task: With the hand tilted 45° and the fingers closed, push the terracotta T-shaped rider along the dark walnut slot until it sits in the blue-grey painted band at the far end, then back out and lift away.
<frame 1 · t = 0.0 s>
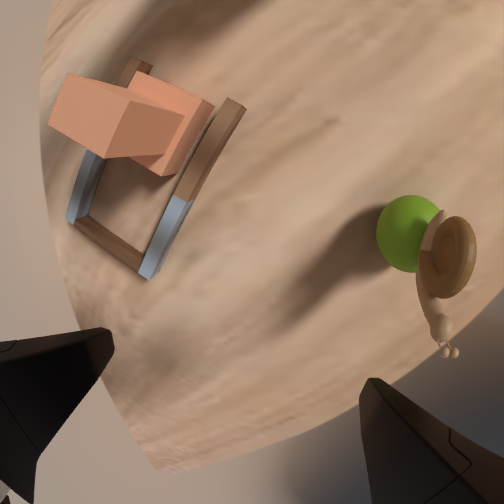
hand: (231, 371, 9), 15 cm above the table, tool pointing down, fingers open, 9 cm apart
rider: (132, 118, 16), point 5 cm above the table, slide at 0.0 cm
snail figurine: (397, 229, 21), on the table
beam slot: (144, 167, 22), on the table
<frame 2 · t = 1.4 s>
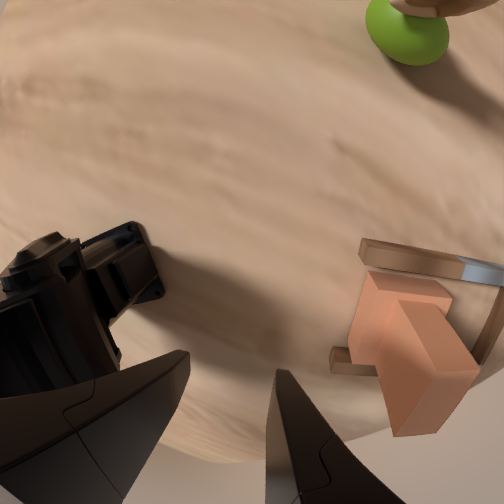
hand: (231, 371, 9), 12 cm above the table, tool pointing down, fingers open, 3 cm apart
rider: (412, 350, 15), point 5 cm above the table, slide at 0.0 cm
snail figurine: (400, 41, 14), on the table
beam slot: (433, 314, 20), on the table
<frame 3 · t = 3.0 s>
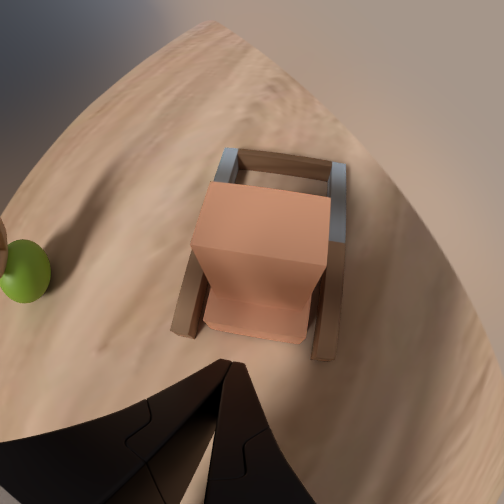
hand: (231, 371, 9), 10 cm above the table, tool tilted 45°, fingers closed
rider: (263, 268, 15), point 5 cm above the table, slide at 0.0 cm
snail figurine: (42, 278, 21), on the table
beam slot: (271, 244, 22), on the table
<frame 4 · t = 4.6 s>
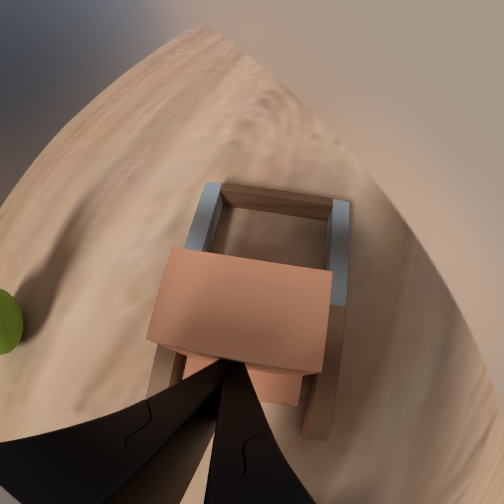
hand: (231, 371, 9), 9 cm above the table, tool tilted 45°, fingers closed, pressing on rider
rider: (247, 335, 12), point 5 cm above the table, slide at 1.1 cm, touching gripper
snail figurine: (17, 324, 18), on the table
beam slot: (259, 302, 18), on the table
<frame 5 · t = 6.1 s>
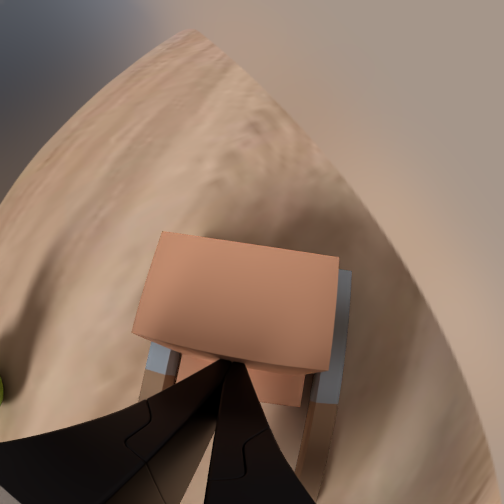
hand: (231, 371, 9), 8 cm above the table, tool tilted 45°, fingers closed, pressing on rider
rider: (246, 330, 12), point 5 cm above the table, slide at 6.8 cm, touching gripper
beam slot: (241, 390, 15), on the table
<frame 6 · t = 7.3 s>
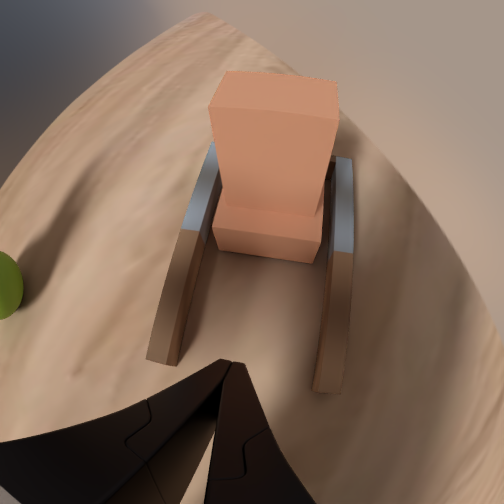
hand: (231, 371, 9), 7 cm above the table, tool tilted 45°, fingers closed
rider: (274, 167, 15), point 5 cm above the table, slide at 6.8 cm
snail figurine: (17, 291, 18), on the table
beam slot: (265, 254, 18), on the table
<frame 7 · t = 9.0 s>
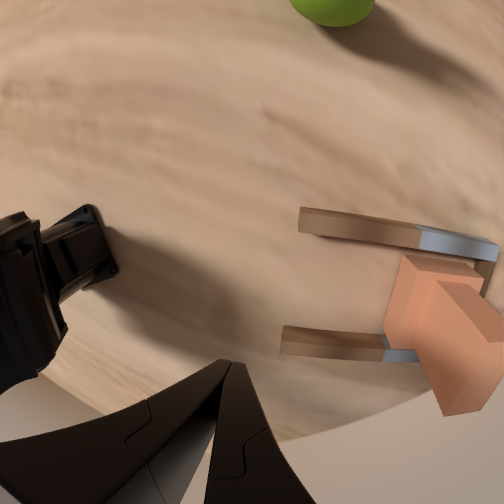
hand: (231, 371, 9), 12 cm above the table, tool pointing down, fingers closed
rider: (451, 330, 14), point 5 cm above the table, slide at 6.8 cm
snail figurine: (333, 8, 14), on the table
beam slot: (394, 290, 19), on the table
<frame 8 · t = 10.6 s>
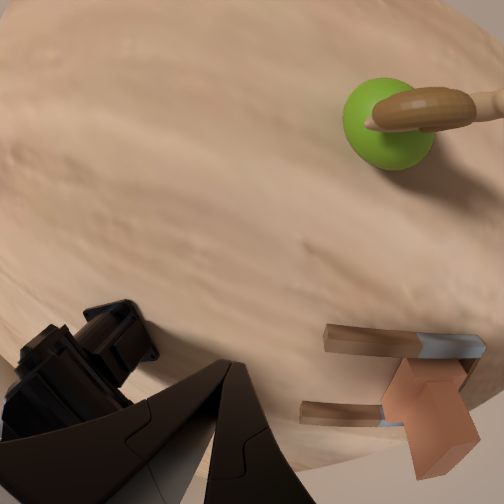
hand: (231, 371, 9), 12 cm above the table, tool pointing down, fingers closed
rider: (433, 417, 17), point 5 cm above the table, slide at 6.8 cm
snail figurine: (382, 126, 16), on the table
beam slot: (394, 377, 22), on the table
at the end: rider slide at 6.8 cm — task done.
